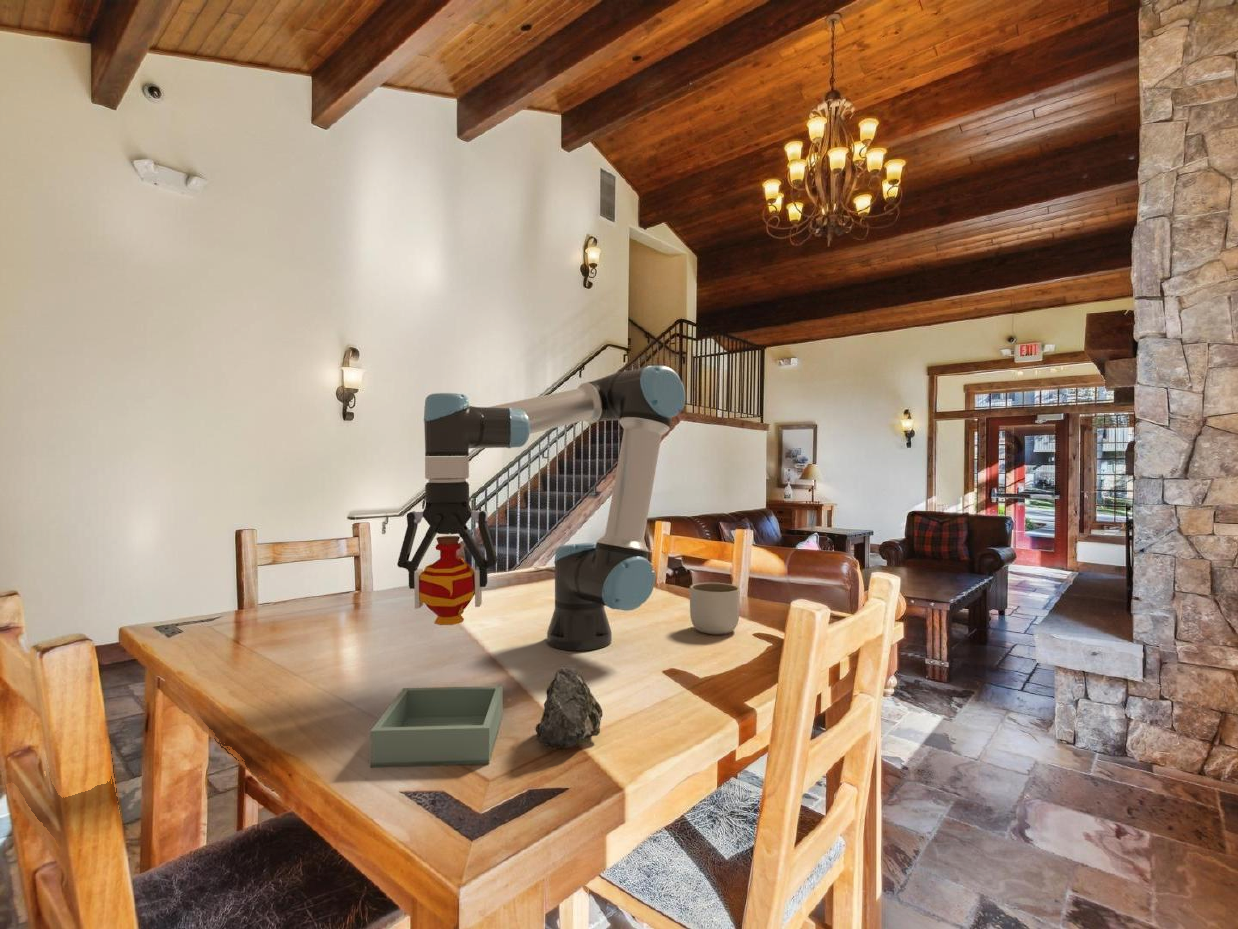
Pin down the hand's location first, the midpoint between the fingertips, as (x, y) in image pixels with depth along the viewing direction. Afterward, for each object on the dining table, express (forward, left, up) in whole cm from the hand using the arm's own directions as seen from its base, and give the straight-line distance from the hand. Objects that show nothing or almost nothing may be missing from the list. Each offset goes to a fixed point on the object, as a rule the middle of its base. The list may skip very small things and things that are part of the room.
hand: (448, 605), depth 109 cm
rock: (-22, +19, -16) cm, 33 cm away
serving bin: (-3, +17, -16) cm, 24 cm away
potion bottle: (0, 0, -3) cm, 3 cm away
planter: (-58, -41, -16) cm, 73 cm away
